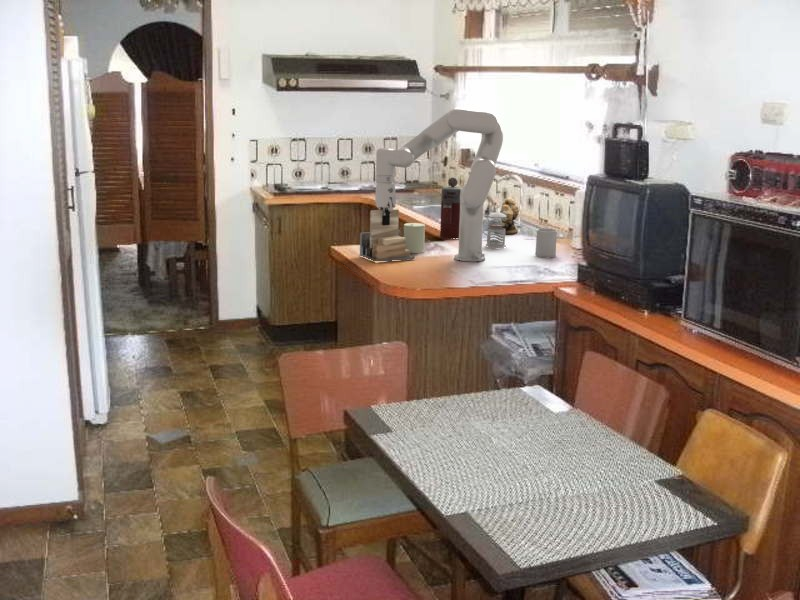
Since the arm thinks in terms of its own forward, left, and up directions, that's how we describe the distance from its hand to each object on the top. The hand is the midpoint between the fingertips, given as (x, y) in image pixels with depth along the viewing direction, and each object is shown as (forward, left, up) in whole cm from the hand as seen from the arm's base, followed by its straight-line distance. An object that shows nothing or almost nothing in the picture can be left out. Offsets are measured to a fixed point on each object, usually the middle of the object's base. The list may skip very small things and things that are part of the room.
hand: (384, 224), depth 365 cm
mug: (-21, -67, -14) cm, 72 cm away
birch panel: (0, 0, -12) cm, 12 cm away
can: (+7, -18, -14) cm, 24 cm away
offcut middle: (-6, +1, -10) cm, 11 cm away
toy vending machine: (+31, -51, -14) cm, 61 cm away
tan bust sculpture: (+35, -85, -14) cm, 92 cm away
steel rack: (-3, 0, -14) cm, 14 cm away
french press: (+4, -57, -14) cm, 59 cm away
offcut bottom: (-6, 0, -12) cm, 14 cm away
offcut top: (-6, 0, -7) cm, 10 cm away
